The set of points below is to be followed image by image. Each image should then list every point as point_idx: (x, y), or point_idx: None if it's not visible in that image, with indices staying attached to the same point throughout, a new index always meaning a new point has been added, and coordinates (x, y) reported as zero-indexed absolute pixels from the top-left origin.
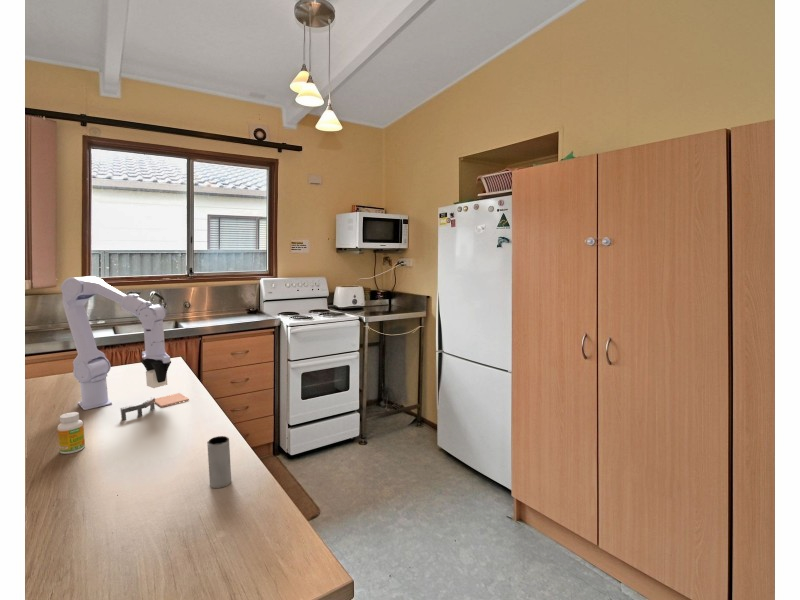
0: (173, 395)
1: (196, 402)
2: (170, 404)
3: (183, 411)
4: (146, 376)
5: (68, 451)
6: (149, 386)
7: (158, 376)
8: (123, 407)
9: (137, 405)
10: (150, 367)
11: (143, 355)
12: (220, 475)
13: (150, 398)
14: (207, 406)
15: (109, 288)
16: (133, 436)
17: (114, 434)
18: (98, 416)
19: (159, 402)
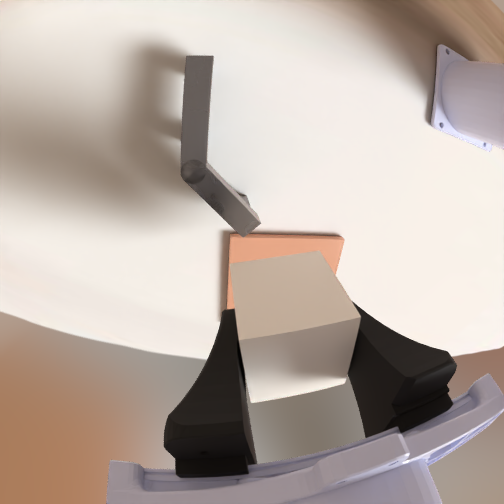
0: None
1: (186, 331)
2: (229, 269)
3: (119, 275)
4: (338, 290)
5: None
6: (286, 256)
7: (217, 343)
8: (211, 69)
9: (183, 133)
10: (366, 361)
11: (482, 395)
12: None
13: (250, 218)
14: (121, 336)
15: None
16: (9, 84)
17: (67, 26)
18: (340, 27)
19: (280, 246)
